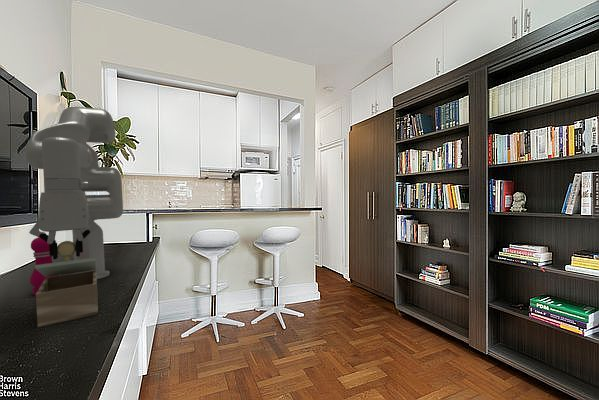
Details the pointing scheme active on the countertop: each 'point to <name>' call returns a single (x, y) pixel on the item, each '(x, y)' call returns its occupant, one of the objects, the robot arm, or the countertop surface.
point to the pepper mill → (39, 261)
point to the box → (67, 298)
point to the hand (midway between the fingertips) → (67, 256)
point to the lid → (66, 262)
